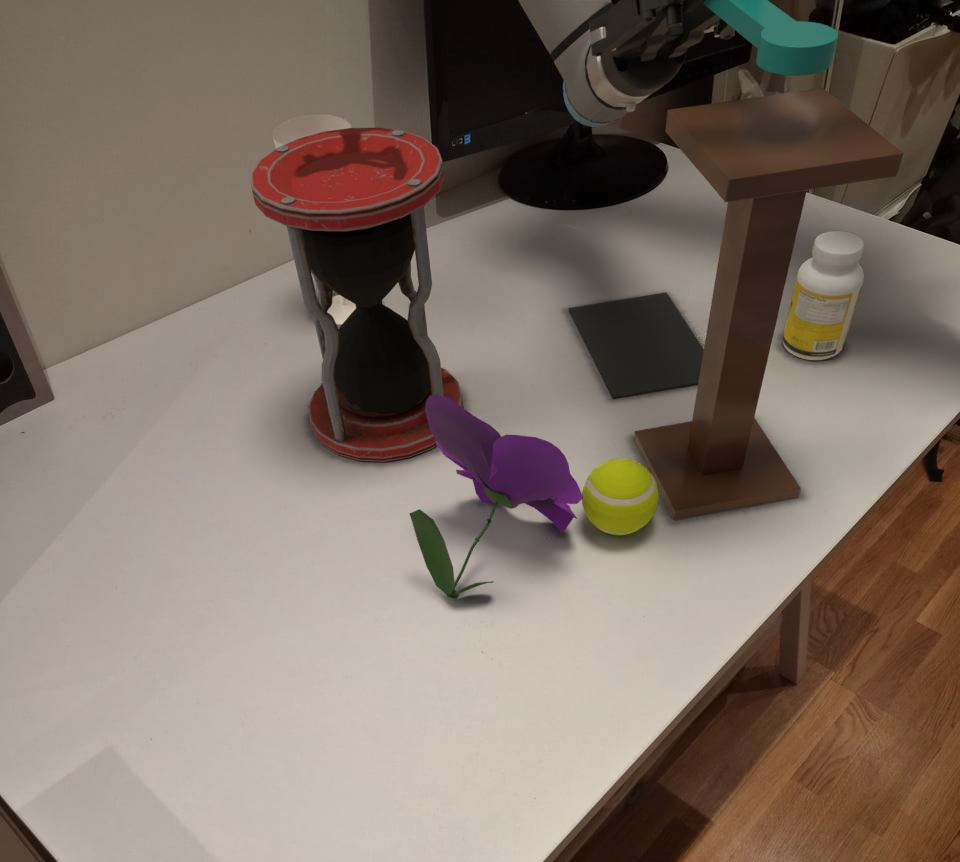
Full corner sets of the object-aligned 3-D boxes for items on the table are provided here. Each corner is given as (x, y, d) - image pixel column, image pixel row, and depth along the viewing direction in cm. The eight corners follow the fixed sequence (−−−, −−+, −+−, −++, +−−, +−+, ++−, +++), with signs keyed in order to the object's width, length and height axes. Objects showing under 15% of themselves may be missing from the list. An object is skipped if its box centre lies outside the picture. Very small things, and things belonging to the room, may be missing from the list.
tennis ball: (665, 542, 77) (674, 484, 72) (593, 557, 77) (597, 500, 71) (639, 494, 82) (646, 436, 76) (571, 508, 81) (573, 450, 76)
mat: (568, 311, 102) (568, 307, 102) (666, 295, 103) (666, 292, 103) (612, 400, 91) (613, 396, 90) (722, 381, 92) (722, 378, 91)
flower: (542, 648, 77) (607, 514, 78) (494, 601, 63) (574, 440, 64) (408, 588, 82) (471, 464, 84) (337, 533, 69) (414, 386, 70)
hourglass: (493, 396, 92) (480, 145, 73) (401, 483, 84) (359, 227, 65) (375, 354, 99) (334, 113, 79) (279, 431, 91) (208, 183, 71)
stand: (633, 440, 86) (667, 109, 63) (747, 420, 87) (822, 87, 64) (673, 521, 79) (729, 179, 56) (798, 498, 80) (904, 152, 57)
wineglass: (352, 283, 109) (321, 108, 93) (393, 310, 104) (367, 130, 89) (298, 308, 106) (257, 130, 90) (338, 336, 101) (301, 155, 86)
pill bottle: (819, 324, 97) (847, 220, 88) (855, 353, 94) (888, 248, 84) (769, 338, 96) (792, 235, 87) (803, 369, 92) (831, 264, 83)
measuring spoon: (666, -12, 68) (668, -38, 67) (725, -20, 68) (728, -45, 67) (773, 80, 55) (779, 50, 54) (844, 70, 55) (851, 40, 54)
